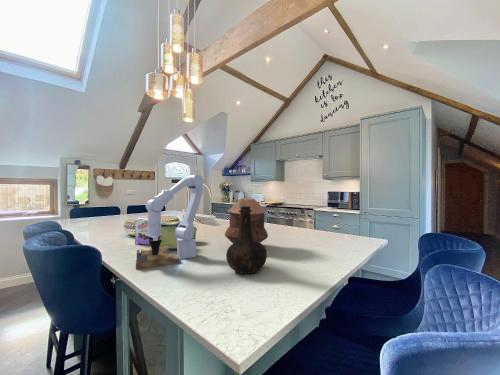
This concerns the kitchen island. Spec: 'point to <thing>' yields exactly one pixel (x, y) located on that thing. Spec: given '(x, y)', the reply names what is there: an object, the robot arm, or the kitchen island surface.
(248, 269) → the dark brown ceramic vase
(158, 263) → the walnut base board
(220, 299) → the kitchen island surface
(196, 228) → the food container
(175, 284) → the kitchen island surface
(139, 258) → the cup bracket
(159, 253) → the oak rail
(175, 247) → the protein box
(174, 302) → the kitchen island surface
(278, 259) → the kitchen island surface
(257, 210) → the pottery vessel
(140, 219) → the candy box
